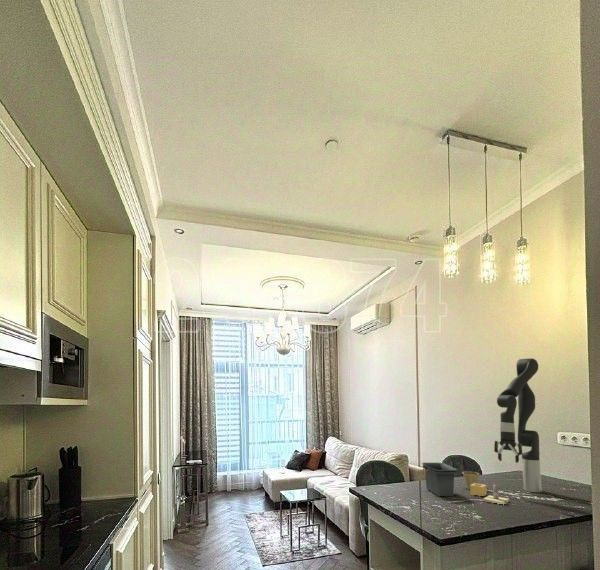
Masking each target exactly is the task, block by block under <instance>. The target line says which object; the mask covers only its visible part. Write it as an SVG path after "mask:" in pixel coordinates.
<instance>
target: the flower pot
mask: <svg viewBox="0 0 600 570" xmlns="http://www.w3.org/2000/svg"><path fill="white" fill-rule="evenodd" d="M462 474H463V479H464V483H465V484H464V485H465V489H466V488H467V489H466V490H469V489H470V485H471V484H474V483H476V484H479V475H480V473H479V472H476V471H475V472H474V471H462Z"/></svg>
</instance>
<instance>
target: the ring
mask: <svg viewBox="0 0 600 570" xmlns="http://www.w3.org/2000/svg"><path fill="white" fill-rule="evenodd" d="M470 494H471V495H470V496H474V495H478V496H477V497H480V496H484V495H485V496H487V495H486V494H488V493H487V484H482V483H478V484H476V483H474V484H471V485H470ZM485 496H484V497H485Z"/></svg>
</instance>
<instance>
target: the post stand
mask: <svg viewBox="0 0 600 570" xmlns="http://www.w3.org/2000/svg"><path fill="white" fill-rule="evenodd" d="M492 487H493V488H492V491H493V493H492V494H493V495H486V497H485V496H484V498H482V502H483V501H485V502H484V503H487V502H492V503H491V504H493V503H497V504H496V505H499V504H503V505H502V506H505V505H506V504H508V503H509V502H510V498H507V497H502V496H499V485H497V484H493V485H492ZM508 501H509V502H508ZM507 502H508V503H507ZM505 503H506V504H505ZM504 504H505V505H504Z"/></svg>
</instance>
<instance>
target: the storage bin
mask: <svg viewBox="0 0 600 570" xmlns="http://www.w3.org/2000/svg"><path fill="white" fill-rule="evenodd" d="M421 464H422V475H423V477H425V484H426V490H427V489H428V490H427V491H429V490H430V491H429V492H431V493H432V492H433V493H432V494H434V493H435V494H434V495H436V494H437V495H438V496H437V495H436V496H437V497H439V496H449V497H454V489H455V488H454V487H455V475H456V474H457V470H458V469H456V468H455V467H453V466H451V465H449V464H446V463H444V462H422V463H421Z"/></svg>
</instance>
